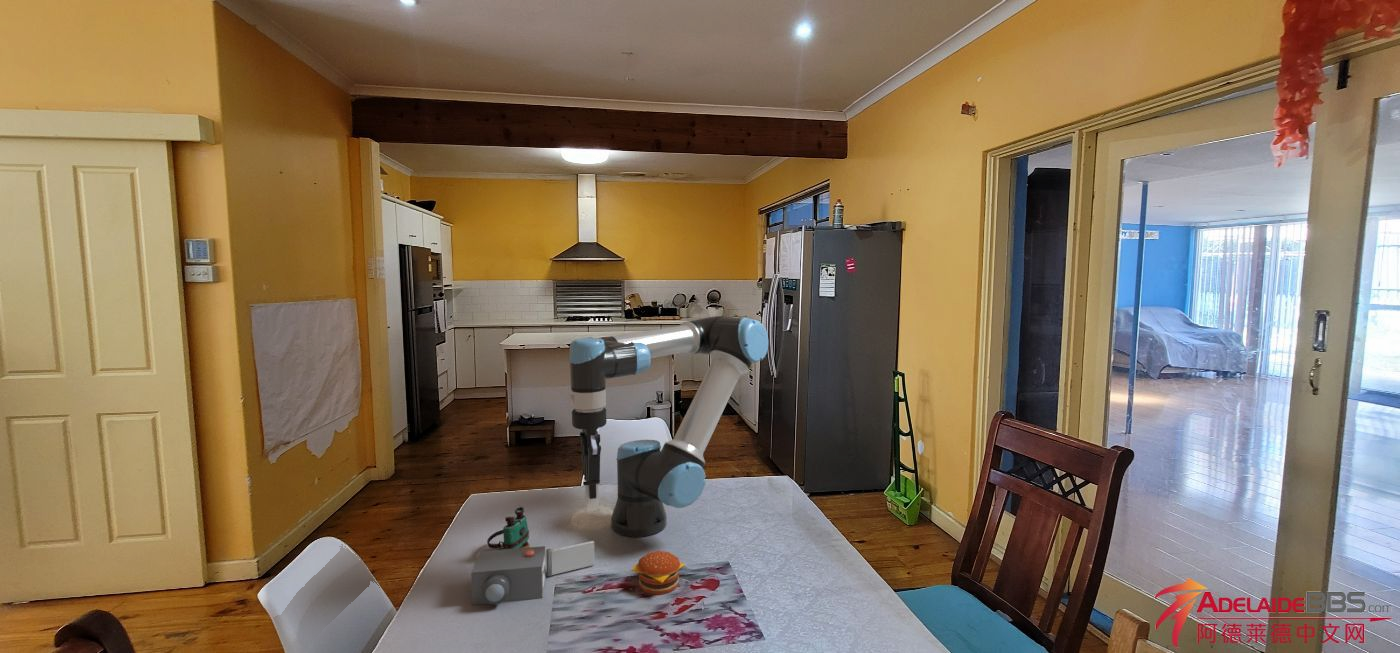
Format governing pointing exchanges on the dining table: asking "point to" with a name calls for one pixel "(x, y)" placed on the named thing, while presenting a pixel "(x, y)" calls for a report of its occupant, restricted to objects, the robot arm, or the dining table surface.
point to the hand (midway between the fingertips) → (592, 510)
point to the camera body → (508, 575)
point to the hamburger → (658, 572)
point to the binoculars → (513, 532)
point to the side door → (570, 558)
